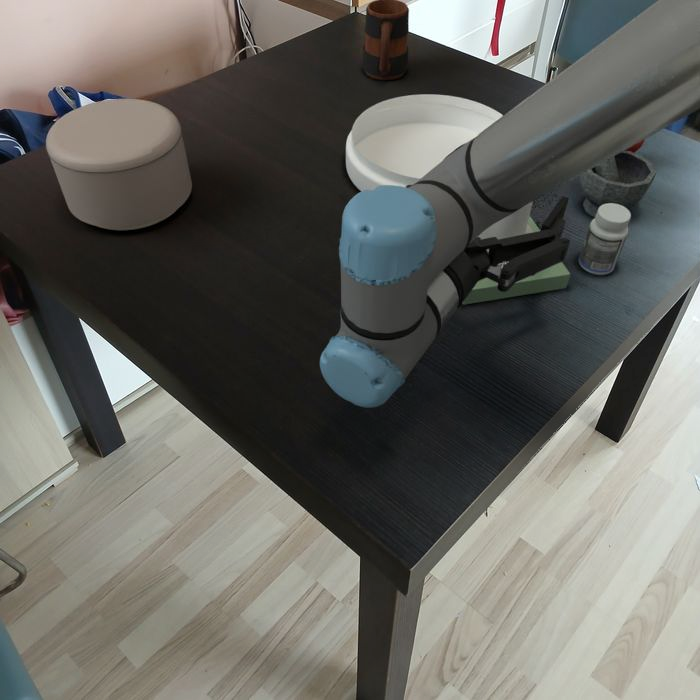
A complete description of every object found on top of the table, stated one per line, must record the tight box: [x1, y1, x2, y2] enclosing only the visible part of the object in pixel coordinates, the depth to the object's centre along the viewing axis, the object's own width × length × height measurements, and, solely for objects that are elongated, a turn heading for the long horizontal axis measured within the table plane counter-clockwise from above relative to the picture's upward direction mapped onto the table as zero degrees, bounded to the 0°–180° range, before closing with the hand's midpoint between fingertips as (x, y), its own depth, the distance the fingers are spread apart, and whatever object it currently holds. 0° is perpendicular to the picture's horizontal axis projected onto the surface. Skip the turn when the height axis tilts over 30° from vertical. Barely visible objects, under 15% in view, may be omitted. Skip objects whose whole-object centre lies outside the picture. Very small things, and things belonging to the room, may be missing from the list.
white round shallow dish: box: [345, 93, 504, 192], centre depth 103 cm, size 27×27×6 cm
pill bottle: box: [578, 203, 632, 276], centre depth 85 cm, size 5×5×8 cm
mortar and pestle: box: [578, 151, 657, 218], centre depth 93 cm, size 11×9×12 cm
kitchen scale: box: [461, 214, 571, 306], centre depth 88 cm, size 15×14×3 cm
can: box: [478, 201, 534, 253], centre depth 82 cm, size 6×6×12 cm
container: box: [45, 98, 193, 231], centre depth 94 cm, size 18×18×12 cm
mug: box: [362, 0, 410, 81], centre depth 122 cm, size 9×12×12 cm
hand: (509, 188), depth 81 cm, fingers open, 13 cm apart
